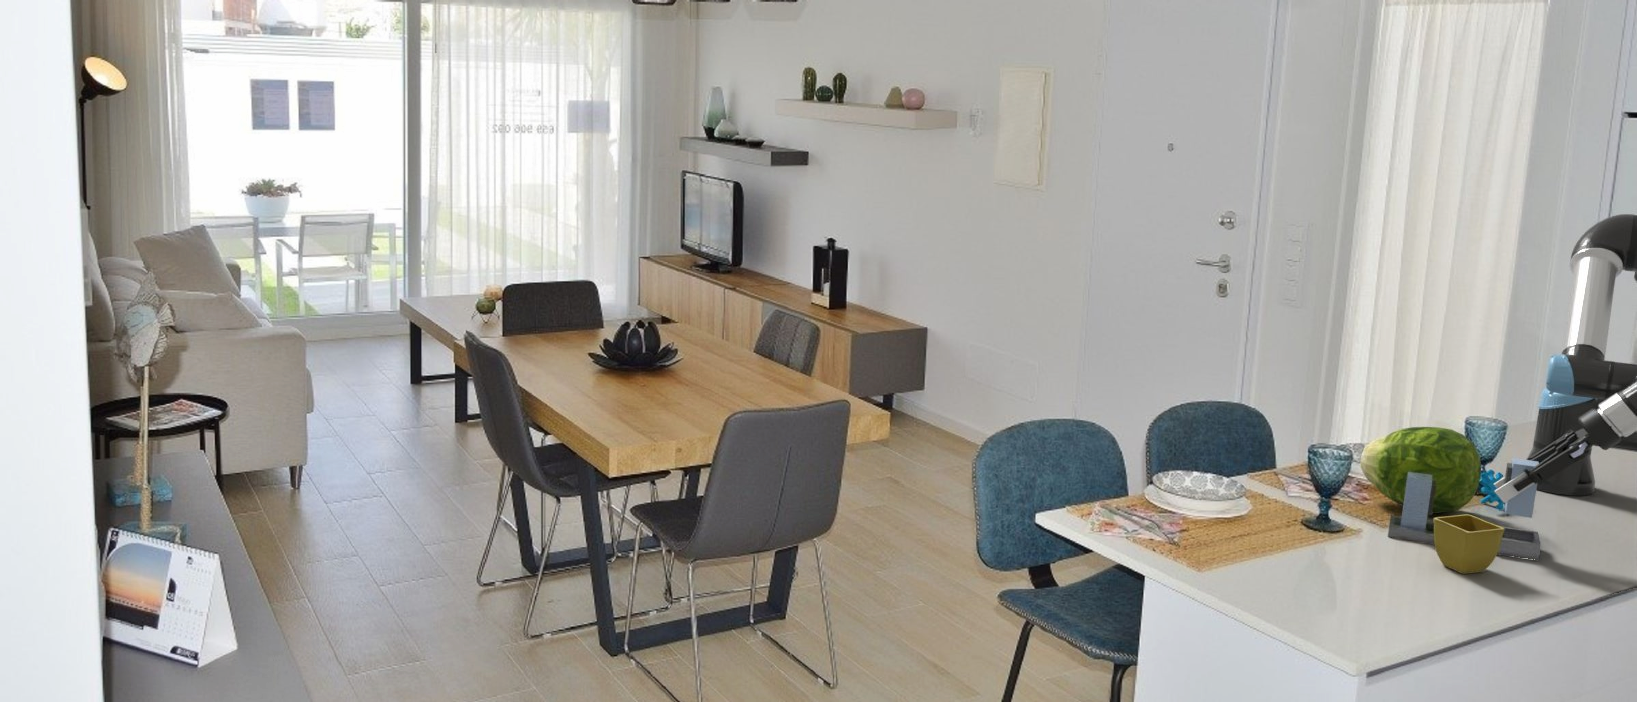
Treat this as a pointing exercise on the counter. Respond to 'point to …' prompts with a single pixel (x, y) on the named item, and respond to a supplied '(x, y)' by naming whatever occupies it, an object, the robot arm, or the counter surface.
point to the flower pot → (1466, 542)
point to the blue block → (1526, 498)
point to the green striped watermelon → (1424, 464)
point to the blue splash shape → (1491, 488)
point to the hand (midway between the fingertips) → (1499, 493)
